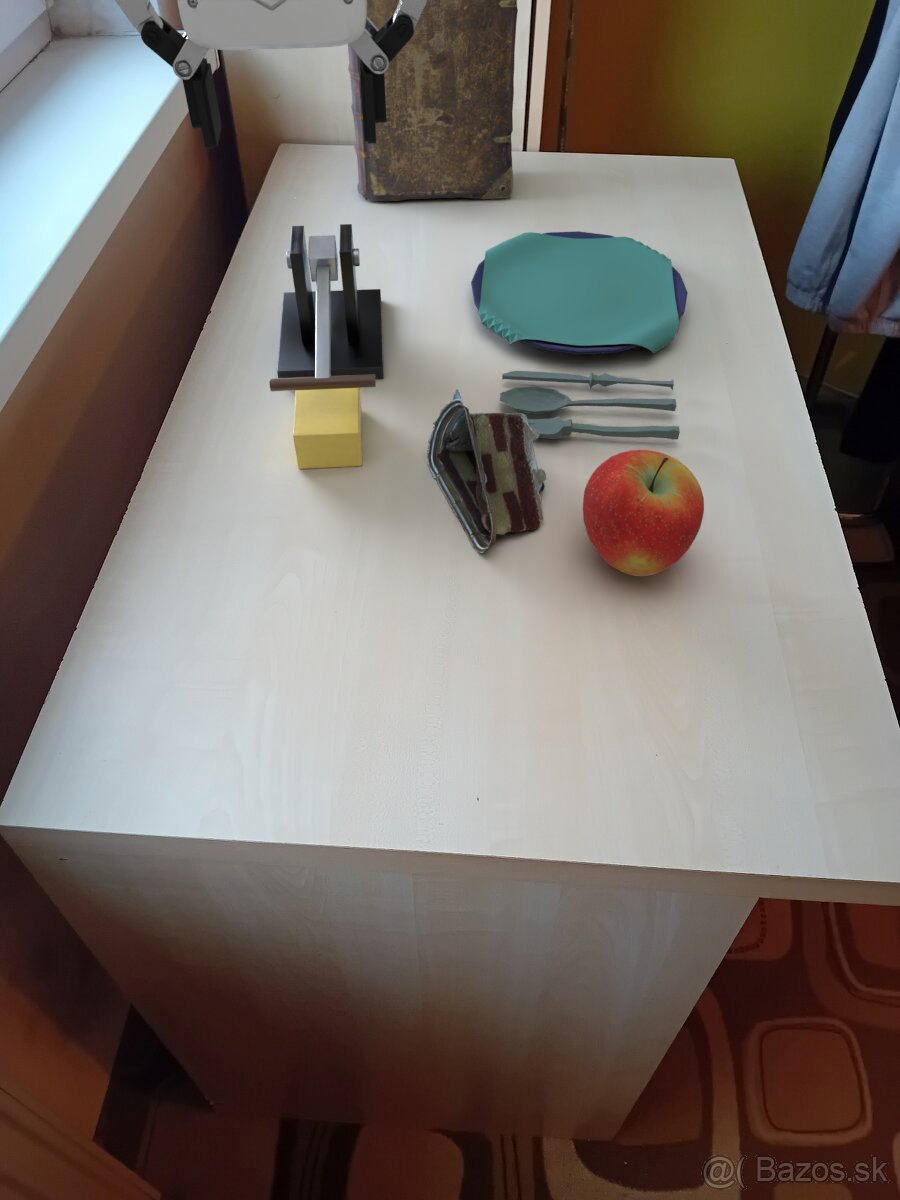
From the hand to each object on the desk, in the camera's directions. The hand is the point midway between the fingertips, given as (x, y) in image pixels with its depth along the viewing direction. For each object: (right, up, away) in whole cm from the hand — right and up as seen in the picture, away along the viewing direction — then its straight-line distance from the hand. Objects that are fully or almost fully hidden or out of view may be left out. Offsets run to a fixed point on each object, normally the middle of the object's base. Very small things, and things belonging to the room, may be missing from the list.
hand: (292, 136), depth 60 cm
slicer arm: (0, -6, +19) cm, 20 cm away
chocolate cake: (+13, -21, +15) cm, 29 cm away
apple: (+23, -26, +10) cm, 36 cm away
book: (+8, +16, +45) cm, 49 cm away
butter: (0, -16, +19) cm, 24 cm away
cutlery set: (+21, -5, +28) cm, 35 cm away
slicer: (-1, -5, +27) cm, 28 cm away
